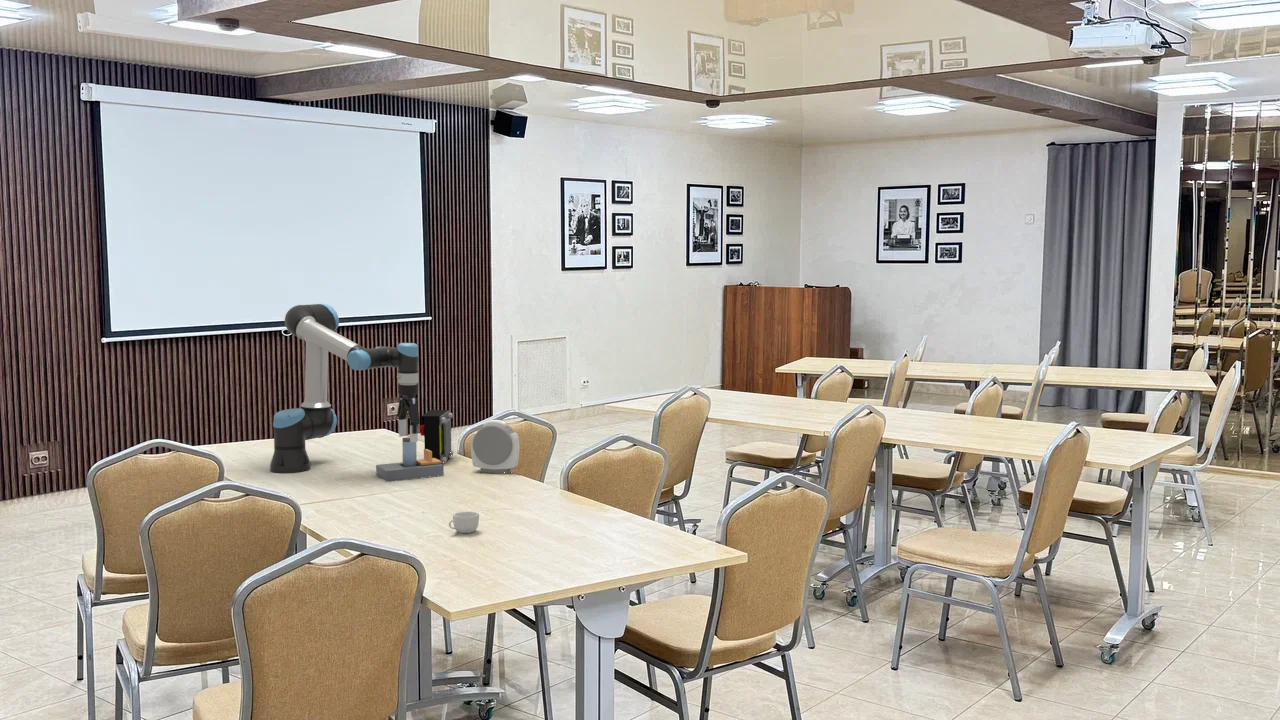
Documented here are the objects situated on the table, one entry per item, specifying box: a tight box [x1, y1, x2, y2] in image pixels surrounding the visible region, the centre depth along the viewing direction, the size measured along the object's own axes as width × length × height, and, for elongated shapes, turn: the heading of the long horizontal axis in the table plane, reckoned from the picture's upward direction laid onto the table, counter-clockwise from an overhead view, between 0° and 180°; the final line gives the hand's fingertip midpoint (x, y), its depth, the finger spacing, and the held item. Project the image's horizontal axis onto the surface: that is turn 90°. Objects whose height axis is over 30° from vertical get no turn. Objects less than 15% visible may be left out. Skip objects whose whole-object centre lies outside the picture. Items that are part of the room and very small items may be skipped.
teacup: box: [448, 510, 480, 534], centre depth 314 cm, size 10×8×5 cm
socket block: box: [375, 461, 445, 482], centre depth 400 cm, size 14×22×4 cm, turn 120°
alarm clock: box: [470, 419, 521, 475], centre depth 406 cm, size 18×8×20 cm, turn 80°
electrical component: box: [419, 409, 454, 465], centre depth 429 cm, size 18×10×20 cm, turn 179°
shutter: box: [417, 448, 442, 465], centre depth 403 cm, size 8×8×5 cm
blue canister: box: [401, 436, 418, 467], centre depth 400 cm, size 5×5×13 cm
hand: (408, 439), depth 399 cm, fingers open, 13 cm apart
